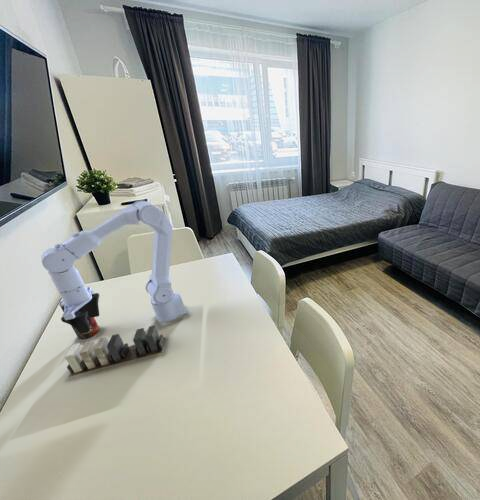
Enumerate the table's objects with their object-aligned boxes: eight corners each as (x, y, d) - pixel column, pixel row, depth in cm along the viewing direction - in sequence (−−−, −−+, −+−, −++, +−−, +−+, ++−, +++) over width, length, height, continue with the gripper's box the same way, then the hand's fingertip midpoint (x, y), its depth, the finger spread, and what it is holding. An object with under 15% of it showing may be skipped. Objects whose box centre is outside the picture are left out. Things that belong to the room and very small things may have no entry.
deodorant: (88, 342, 91) (69, 306, 85) (74, 340, 92) (54, 304, 86) (105, 330, 96) (87, 296, 90) (91, 328, 98) (73, 294, 91)
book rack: (166, 339, 92) (159, 322, 88) (162, 354, 86) (155, 336, 83) (80, 361, 84) (69, 343, 81) (70, 379, 78) (58, 360, 75)
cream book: (88, 358, 84) (79, 342, 81) (82, 371, 79) (72, 354, 77) (81, 360, 83) (72, 344, 80) (74, 373, 79) (64, 356, 76)
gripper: (66, 278, 83) (84, 313, 89) (40, 304, 71) (63, 343, 77) (93, 273, 85) (110, 308, 91) (73, 298, 73) (93, 336, 79)
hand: (90, 323), depth 84 cm, fingers open, 7 cm apart
